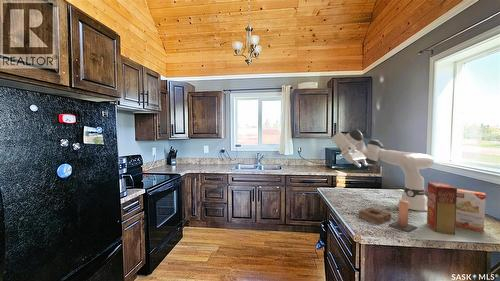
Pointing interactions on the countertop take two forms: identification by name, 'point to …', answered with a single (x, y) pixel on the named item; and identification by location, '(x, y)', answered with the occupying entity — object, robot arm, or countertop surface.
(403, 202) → the peg
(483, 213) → the cracker box
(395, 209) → the countertop surface
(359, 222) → the countertop surface
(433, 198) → the food packaging
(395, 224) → the rubber mat
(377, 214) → the pocket block
